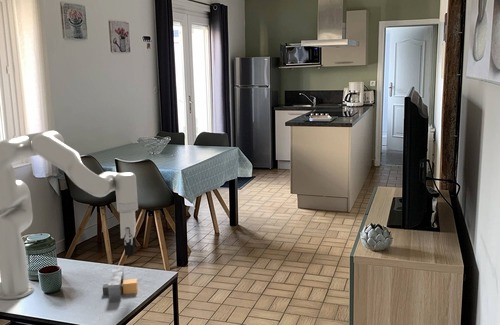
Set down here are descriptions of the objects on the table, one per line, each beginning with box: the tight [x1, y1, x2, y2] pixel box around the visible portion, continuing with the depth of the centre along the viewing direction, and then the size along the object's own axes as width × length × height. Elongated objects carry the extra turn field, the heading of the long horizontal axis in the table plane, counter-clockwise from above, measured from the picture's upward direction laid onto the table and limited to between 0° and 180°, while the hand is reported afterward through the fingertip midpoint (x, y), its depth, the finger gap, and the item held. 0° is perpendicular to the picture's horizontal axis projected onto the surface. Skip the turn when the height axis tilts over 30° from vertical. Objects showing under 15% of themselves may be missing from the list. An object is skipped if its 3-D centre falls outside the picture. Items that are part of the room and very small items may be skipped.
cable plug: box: [102, 278, 139, 296], centre depth 190 cm, size 12×4×4 cm, turn 99°
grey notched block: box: [107, 267, 125, 303], centre depth 189 cm, size 4×16×6 cm, turn 9°
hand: (130, 250), depth 188 cm, fingers open, 9 cm apart
